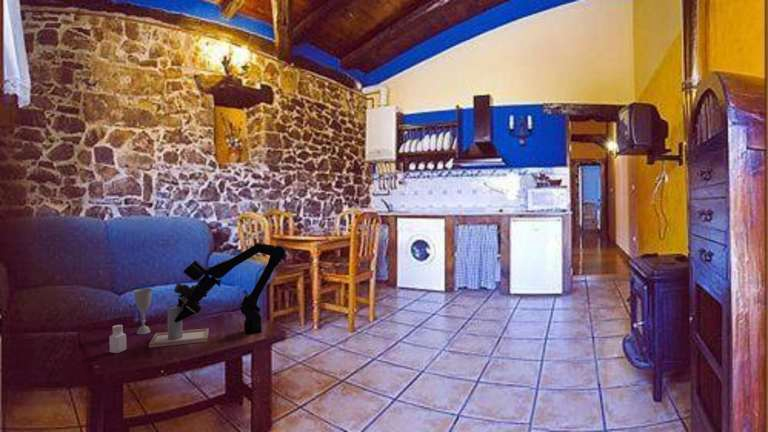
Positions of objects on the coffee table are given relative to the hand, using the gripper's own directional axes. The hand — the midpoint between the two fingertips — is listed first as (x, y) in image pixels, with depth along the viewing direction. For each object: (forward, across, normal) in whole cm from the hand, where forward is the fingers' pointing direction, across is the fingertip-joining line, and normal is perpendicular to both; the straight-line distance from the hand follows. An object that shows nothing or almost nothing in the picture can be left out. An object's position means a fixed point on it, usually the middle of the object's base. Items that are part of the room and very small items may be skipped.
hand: (173, 319), depth 163 cm
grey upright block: (+5, 0, +6) cm, 8 cm away
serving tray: (+4, 0, +8) cm, 9 cm away
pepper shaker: (+19, +2, -7) cm, 21 cm away
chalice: (+12, -18, 0) cm, 22 cm away
